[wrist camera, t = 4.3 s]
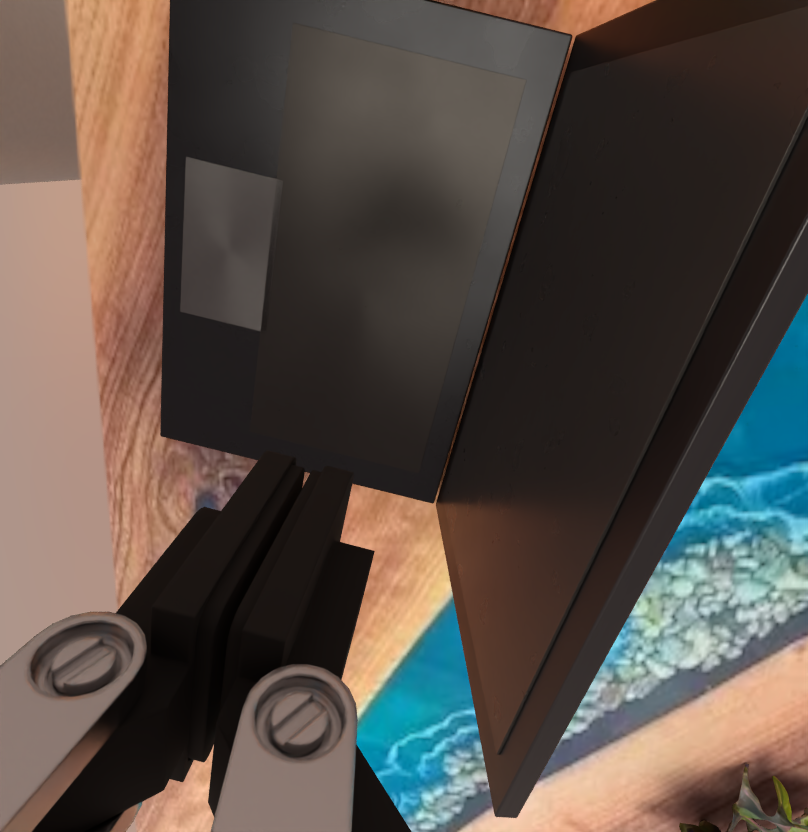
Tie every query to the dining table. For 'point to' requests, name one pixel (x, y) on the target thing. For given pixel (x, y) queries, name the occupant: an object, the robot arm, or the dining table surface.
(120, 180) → the dining table surface
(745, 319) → the laptop screen
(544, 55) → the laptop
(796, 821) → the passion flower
